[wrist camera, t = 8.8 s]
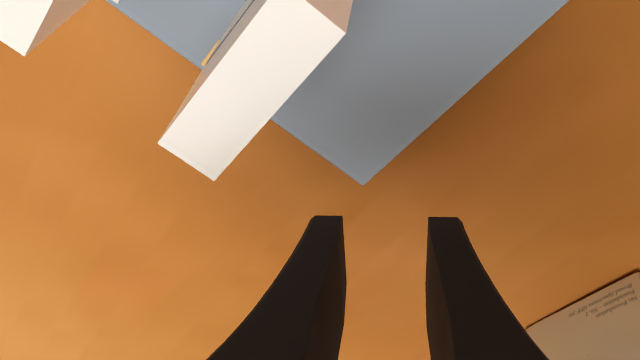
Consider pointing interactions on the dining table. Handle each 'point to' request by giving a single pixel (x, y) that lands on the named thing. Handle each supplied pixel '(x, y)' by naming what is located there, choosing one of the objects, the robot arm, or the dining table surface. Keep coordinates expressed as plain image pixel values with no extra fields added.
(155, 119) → the dining table surface
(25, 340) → the dining table surface
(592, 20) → the dining table surface
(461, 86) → the domino board
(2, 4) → the domino
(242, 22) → the placed domino
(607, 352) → the skincare box
